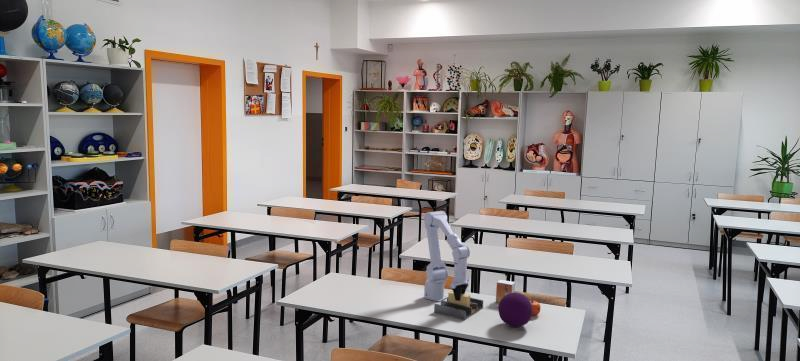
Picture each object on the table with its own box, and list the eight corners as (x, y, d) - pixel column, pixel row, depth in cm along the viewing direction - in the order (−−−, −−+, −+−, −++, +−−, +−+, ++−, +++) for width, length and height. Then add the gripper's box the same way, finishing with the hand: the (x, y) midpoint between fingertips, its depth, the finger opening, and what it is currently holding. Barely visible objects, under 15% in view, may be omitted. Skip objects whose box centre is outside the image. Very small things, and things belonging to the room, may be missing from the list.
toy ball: (532, 321, 260) (533, 289, 258) (531, 334, 246) (533, 300, 244) (498, 318, 264) (500, 286, 262) (496, 330, 250) (497, 297, 248)
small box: (495, 302, 285) (496, 282, 283) (498, 299, 290) (499, 279, 288) (511, 305, 281) (512, 284, 280) (514, 302, 286) (515, 281, 285)
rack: (434, 312, 269) (434, 304, 269) (453, 301, 285) (453, 293, 284) (464, 320, 260) (464, 311, 260) (482, 308, 276) (483, 300, 276)
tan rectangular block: (448, 306, 274) (448, 292, 273) (451, 305, 277) (451, 291, 276) (466, 311, 269) (467, 297, 268) (469, 309, 271) (470, 295, 270)
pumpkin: (522, 316, 267) (523, 301, 266) (524, 310, 274) (524, 295, 273) (539, 318, 264) (540, 303, 263) (540, 312, 272) (541, 297, 271)
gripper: (460, 276, 262) (459, 305, 264) (474, 269, 274) (473, 297, 276) (447, 273, 266) (446, 302, 268) (461, 266, 278) (460, 294, 280)
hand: (459, 299), depth 272 cm, fingers closed on tan rectangular block, 3 cm apart
